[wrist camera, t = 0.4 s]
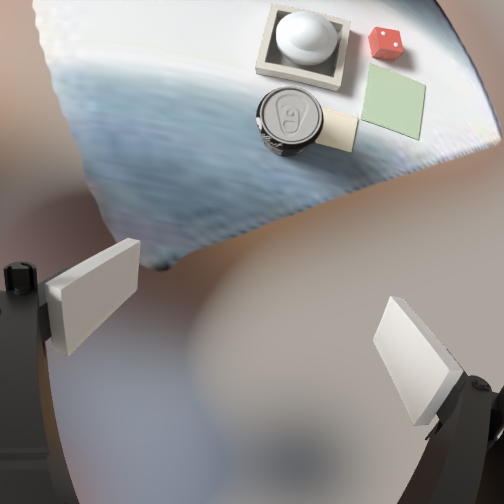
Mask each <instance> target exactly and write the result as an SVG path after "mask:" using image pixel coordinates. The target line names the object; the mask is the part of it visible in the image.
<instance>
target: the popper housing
mask: <svg viewBox="0 0 504 504" xmlns="http://www.w3.org/2000/svg"><path fill="white" fill-rule="evenodd" d="M299 11H307V12H313V11H308V10H304V9H299V8H294V7H288V6H283V5H276V4H271V8H270V12H269V15H268V19H267V23H266V27H265V31H264V34H263V38H262V42H261V46H260V50H259V54H258V58H257V62H256V66H255V69H256V74H262V75H268V76H273V77H278V78H283V79H288V80H293V81H297V82H302V83H306V84H310V85H314V86H318V87H322V88H326V89H330V90H333V91H337V90H338V89H339V88H340V86H341V80H342V75H343V69H344V63H345V57H346V50H347V44H348V38H349V31H350V24H351V21H347V20H344V19H340V18H337V17H333V16H329V15H325V14H321V13H317V12H313V13H316V14H319V15H321V16H323V17H324V18H326V19H327V20H328V21H329V22H330V23H331V24H332V25H333V26H334V28H335V30H336V33H337V44H336V46H335V49H334V51H333V53H332V54H331V56H330V57H329V58H328V59H327V60H326V61H324V62H323V63H320V64H317V65H312V66H305V65H299V64H296V63H294V62H292V61H290V60H288V59H287V58H285V57H284V56H283V55H282V54H281V52H280V51H279V49H278V47H277V43H276V29H277V26H278V24H279V22H280V21H281V20H282V19H283V18H284V17H285V16H287V15H288V14H291V13H294V12H299Z"/></svg>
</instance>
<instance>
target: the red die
mask: <svg viewBox="0 0 504 504" xmlns="http://www.w3.org/2000/svg"><path fill="white" fill-rule="evenodd" d="M369 43H370V48H371V54H372V57H374V58H382V59H389V60H395V59H397V58H398V57H399V56H400V55H401V54H402V53H403V52H404V51H403V46H402V42H401V37H400V33H399V31H396V30H391V29H385V28H379V27H375V28H374V30H373V31H372V33H371V34H370V35H369Z"/></svg>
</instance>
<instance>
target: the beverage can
mask: <svg viewBox="0 0 504 504" xmlns="http://www.w3.org/2000/svg"><path fill="white" fill-rule="evenodd" d="M256 120H257V125H258V128H259V131H260V135H261V138H262V140H263V142H264V144H265V145H266V147H267V148H268V149H269V150H271V151H272V152H274V153H276V154H278V155H282V156H292V155H296V154H298V153H300V152H301V151H303V150H304V149H305V148H307V147H308V146H309V145H310V144H312V143H313V142H314V141H315V140H316V139H317V138H318V136H319V135H320V133H321V131H322V128H323V124H324V116H323V111H322V108H321V106H320V104H319V102H318V101H317V100H316V99H315V97H314V96H313V95H312V94H310V93H309V92H307V91H306V90H304V89H302V88H298V87H294V86H286V87H281V88H278V89H275V90H273V91H271V92H270V93H268V94H267V95H266V96H265V97H264V98H263V99H262V100H261V102H260V104H259V106H258V109H257V114H256Z"/></svg>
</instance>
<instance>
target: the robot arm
mask: <svg viewBox="0 0 504 504" xmlns="http://www.w3.org/2000/svg"><path fill="white" fill-rule="evenodd" d="M140 244H141V241H139V240H134V239H130V238H127V239H125V240H123V241H121V242H119V243H117V244H115V245H113V246H111V247H110V248H107V249H106V250H104V251H102V252H100V253H98V254H96V255H95V256H93V257H91V258H89V259H87V260H85V261H83V262H82V263H80V264H78V265H76V266H74V267H70V268H66V269H64V270H62V271H60V272H58V273H57V274H55V275H53V276H52V277H49V278H48V279H46V280H44V281H42V282H41V283H39V284H37V272H36V266H35V265H34V264H32V263H29V262H14V263H11V264H8V265H7V266H5V268H4V277H5V285H6V292H5V291H0V504H80V503H79V501H78V498H77V496H76V493H75V490H74V487H73V484H72V481H71V478H70V475H69V471H68V468H67V465H66V461H65V457H64V454H63V450H62V446H61V442H60V438H59V433H58V428H57V424H56V419H55V413H54V408H53V401H52V395H51V389H50V380H49V372H48V362H47V350H46V345H45V341H46V340H48V339H49V338H50V337H51V340H52V345H53V350H55V351H57V352H59V353H62V354H64V355H66V356H68V357H69V356H70V355H71V353H72V352H73V351H74V350H75V349H76V348H77V347H78V346H79V345H80V344H81V343H82V342H83V341H84V340H85V339H86V338H87V337H88V336H89V335H90V334H91V333H92V332H93V331H94V330H95V329H96V328H97V327H99V326H100V325H101V324H102V323H103V322H104V321H105V320H106V318H108V317H109V316H110V315H111V314H112V313H113V312H114V311H115V310H116V309H117V308H118V307H119V306H120V305H121V304H122V303H123V302H124V301H125V300H127V299H128V298H129V297H130V296H131V295H132V294H133V293H134V292H135V291H136V290H137V280H138V266H139V254H140ZM373 342H374V344H375V346H376V348H377V350H378V352H379V354H380V356H381V358H382V360H383V361H384V364H385V365H386V368H387V370H388V372H389V374H390V376H391V378H392V380H393V382H394V384H395V386H396V388H397V391H398V392H399V395H400V397H401V399H402V401H403V403H404V405H405V408H406V410H407V412H408V414H409V416H410V418H411V421H412V423H413V425H414V426H417V425H428V424H429V423H430V422H431V420H432V419H433V417H434V416H435V415H436V414H437V416H438V418H439V421H438V423H437V424H436V425H435V427H434V428H433V429H432V431H431V432H430V433H429V434H428V436H427V437H426V438H425V440H427V439H428V438H430V439H429V441H428V443H427V446H426V448H425V451H424V453H423V455H422V457H421V459H420V461H419V464H418V465H417V467H416V470H415V472H414V474H413V475H412V477H411V480H410V481H409V483H408V485H407V487H406V489H405V491H404V492H403V494H402V496H401V498H400V499H399V501H398V503H397V504H504V430H503V428H504V386H503V388H502V389H501V391H500V392H499V393H495V392H492V390H491V387H490V385H489V384H488V383H487V382H486V381H485V380H484V379H482V378H480V377H478V376H473V375H471V376H468V375H467V374H466V372H465V371H464V370H463V369H462V367H461V366H460V365H459V364H458V363H457V362H456V360H455V359H454V357H452V355H451V354H450V352H449V351H448V350H447V349H446V348H445V347H444V346H443V344H442V343H441V342H440V341H439V340H438V338H437V337H436V336H435V335H434V334H433V333H432V332H431V330H430V329H429V328H428V327H427V325H426V324H425V323H424V322H423V321H422V320H421V319H420V317H419V316H418V315H417V314H416V313H415V312H414V311H413V309H412V308H411V307H410V306H409V305H408V304H407V303H406V302H405V300H404V299H403V298H399V297H394V296H390V298H389V301H388V304H387V306H386V309H385V311H384V314H383V317H382V319H381V322H380V324H379V326H378V329H377V331H376V333H375V336H374V338H373ZM502 430H503V433H502V435H501V436H500V438H499V439H498V438H497V436H498V435H499V434H500V432H501V431H502Z"/></svg>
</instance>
